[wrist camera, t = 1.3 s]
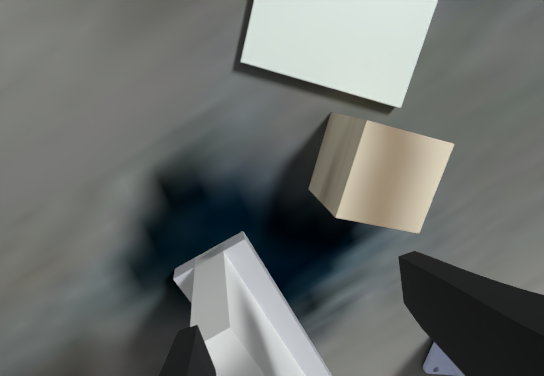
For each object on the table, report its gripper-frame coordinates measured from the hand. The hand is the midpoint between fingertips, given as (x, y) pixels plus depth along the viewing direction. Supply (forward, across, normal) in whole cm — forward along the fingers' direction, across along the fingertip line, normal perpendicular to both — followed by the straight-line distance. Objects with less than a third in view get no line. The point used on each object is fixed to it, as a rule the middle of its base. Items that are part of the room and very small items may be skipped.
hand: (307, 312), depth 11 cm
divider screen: (+10, +2, +10) cm, 14 cm away
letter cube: (+10, -7, -1) cm, 13 cm away
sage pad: (+11, -8, -10) cm, 16 cm away
